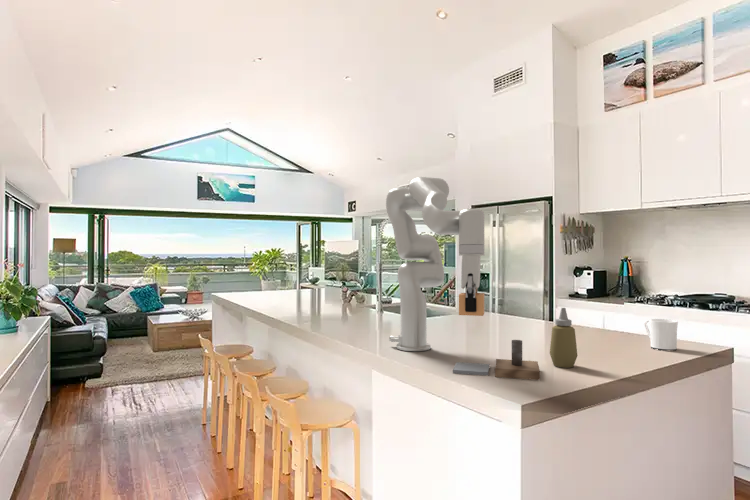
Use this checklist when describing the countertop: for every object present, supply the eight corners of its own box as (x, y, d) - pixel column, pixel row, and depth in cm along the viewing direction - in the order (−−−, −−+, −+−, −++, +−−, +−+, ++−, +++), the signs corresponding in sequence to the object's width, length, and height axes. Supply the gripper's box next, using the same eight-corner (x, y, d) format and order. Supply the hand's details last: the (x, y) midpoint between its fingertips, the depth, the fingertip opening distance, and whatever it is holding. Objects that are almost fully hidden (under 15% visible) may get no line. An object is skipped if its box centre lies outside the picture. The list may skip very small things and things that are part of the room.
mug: (681, 349, 173) (681, 320, 174) (672, 352, 168) (672, 323, 168) (649, 344, 182) (649, 317, 182) (639, 347, 177) (639, 319, 177)
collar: (458, 315, 141) (458, 294, 141) (461, 312, 147) (461, 292, 148) (483, 315, 139) (483, 295, 139) (484, 312, 146) (484, 293, 146)
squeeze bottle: (544, 366, 148) (544, 308, 149) (556, 361, 154) (556, 305, 154) (570, 370, 143) (570, 310, 143) (581, 366, 148) (581, 308, 148)
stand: (495, 377, 136) (495, 343, 136) (496, 367, 147) (496, 336, 147) (539, 380, 132) (539, 345, 132) (537, 369, 144) (537, 338, 144)
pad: (452, 373, 140) (452, 369, 140) (456, 365, 149) (456, 362, 149) (488, 375, 137) (488, 372, 137) (489, 367, 147) (489, 364, 147)
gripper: (461, 250, 153) (461, 306, 153) (455, 250, 136) (456, 313, 136) (485, 250, 151) (486, 307, 151) (482, 250, 134) (483, 314, 134)
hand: (471, 309), depth 143 cm, fingers closed on collar, 7 cm apart
